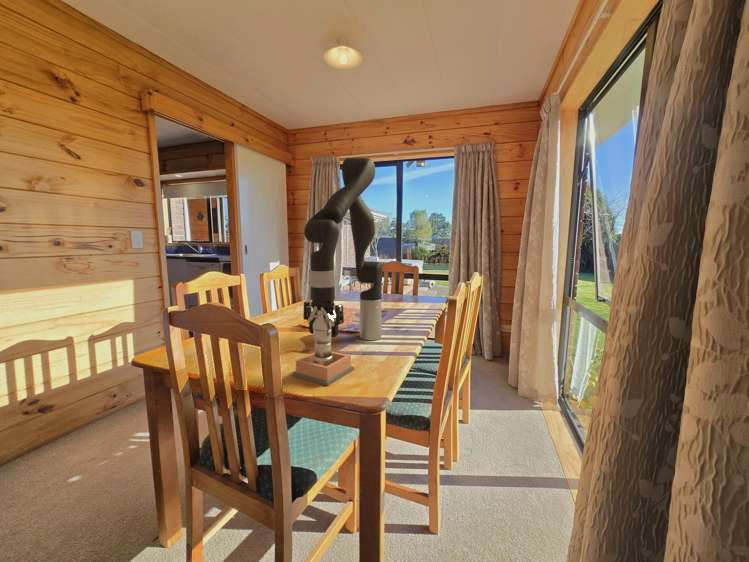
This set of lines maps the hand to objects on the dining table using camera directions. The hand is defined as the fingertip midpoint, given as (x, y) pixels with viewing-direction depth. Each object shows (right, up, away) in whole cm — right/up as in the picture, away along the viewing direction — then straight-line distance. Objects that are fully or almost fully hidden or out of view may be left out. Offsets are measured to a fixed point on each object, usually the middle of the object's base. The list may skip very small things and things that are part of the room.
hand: (323, 335), depth 105 cm
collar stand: (0, -13, +2) cm, 13 cm away
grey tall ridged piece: (0, -12, +2) cm, 12 cm away
